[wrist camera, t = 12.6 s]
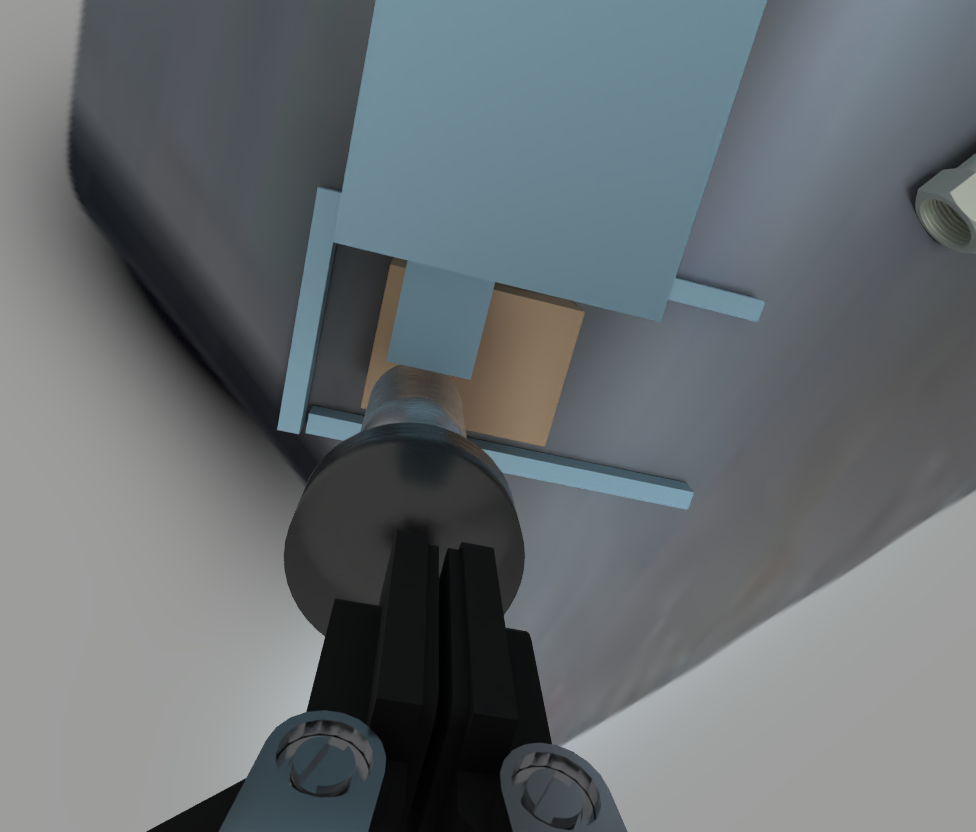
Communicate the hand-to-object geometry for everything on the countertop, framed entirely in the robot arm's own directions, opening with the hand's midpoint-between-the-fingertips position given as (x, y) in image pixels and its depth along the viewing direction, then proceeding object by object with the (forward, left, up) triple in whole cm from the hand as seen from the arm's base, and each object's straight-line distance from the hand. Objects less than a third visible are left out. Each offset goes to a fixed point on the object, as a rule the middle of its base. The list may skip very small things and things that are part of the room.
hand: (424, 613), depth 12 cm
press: (-5, -2, -22) cm, 23 cm away
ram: (0, 0, -11) cm, 11 cm away
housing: (-2, 0, -22) cm, 22 cm away
